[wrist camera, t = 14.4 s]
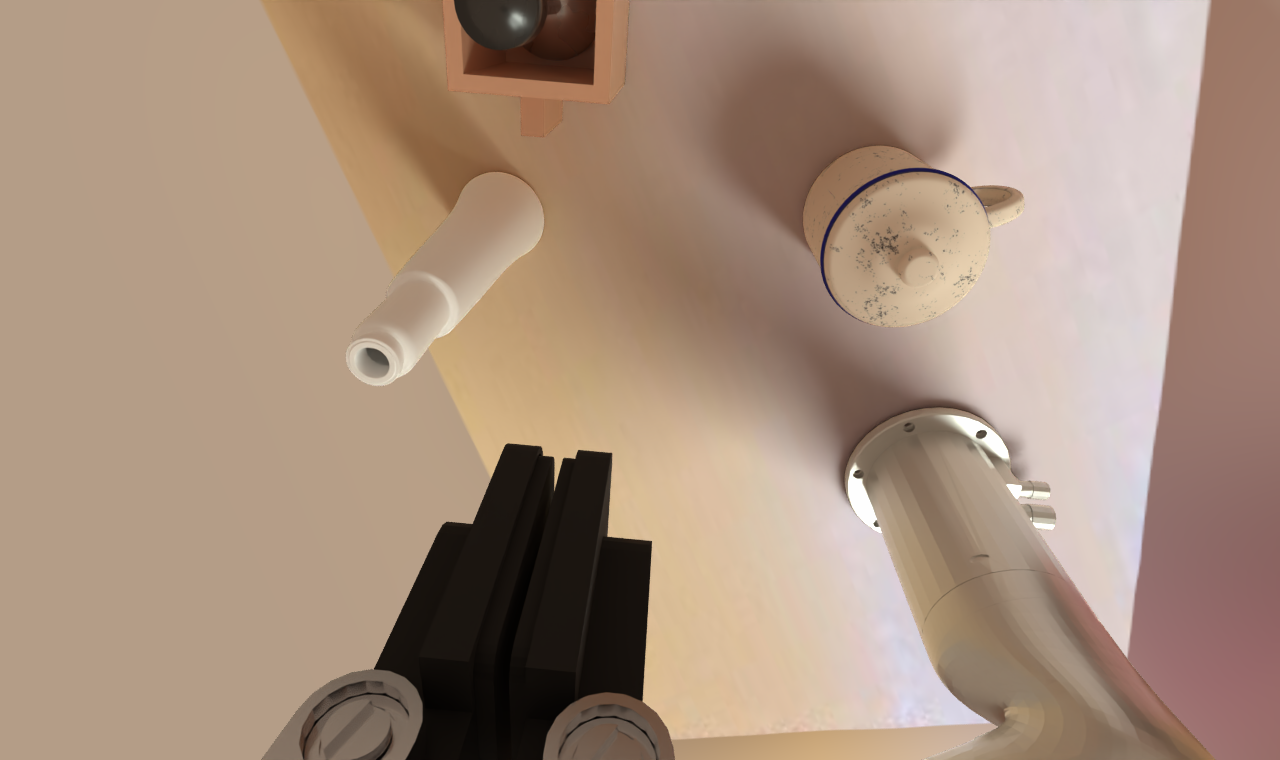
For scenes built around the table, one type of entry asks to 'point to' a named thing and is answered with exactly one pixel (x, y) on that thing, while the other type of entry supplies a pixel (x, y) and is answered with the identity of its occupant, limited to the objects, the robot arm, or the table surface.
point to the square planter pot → (541, 69)
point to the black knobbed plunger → (531, 25)
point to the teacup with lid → (900, 234)
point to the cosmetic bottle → (447, 276)
